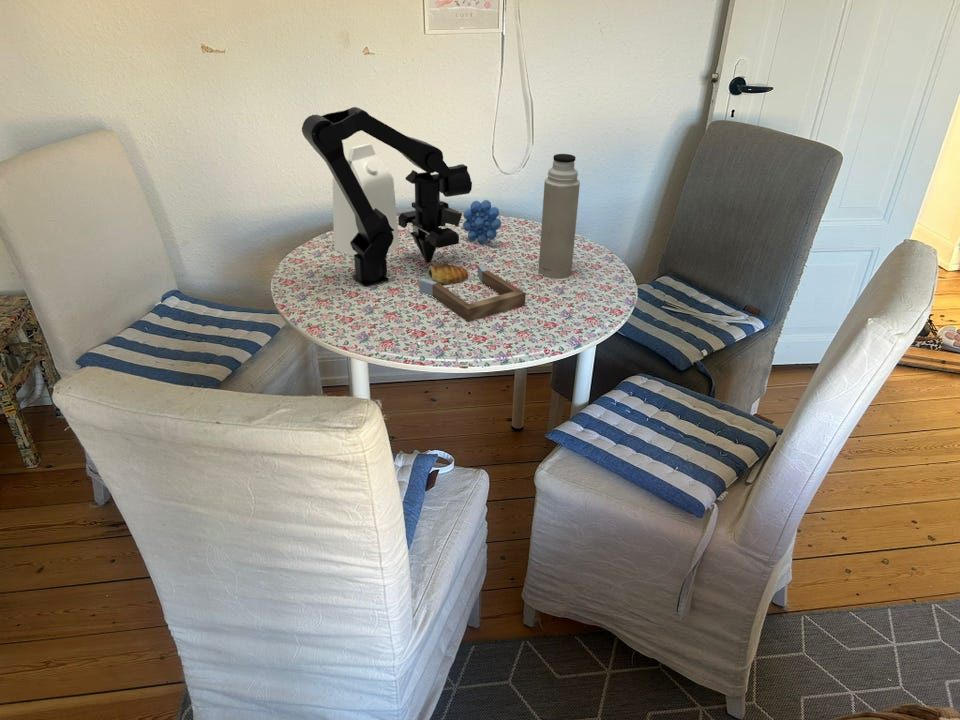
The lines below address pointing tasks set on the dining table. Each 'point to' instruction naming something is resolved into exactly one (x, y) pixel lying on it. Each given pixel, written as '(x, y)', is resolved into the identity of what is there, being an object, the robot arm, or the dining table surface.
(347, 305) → the dining table surface
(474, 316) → the holder
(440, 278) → the pastry
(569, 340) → the dining table surface
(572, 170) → the thermos bottle
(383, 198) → the milk
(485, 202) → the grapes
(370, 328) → the dining table surface
